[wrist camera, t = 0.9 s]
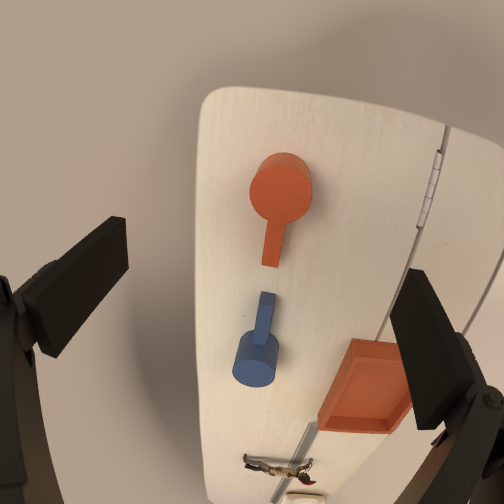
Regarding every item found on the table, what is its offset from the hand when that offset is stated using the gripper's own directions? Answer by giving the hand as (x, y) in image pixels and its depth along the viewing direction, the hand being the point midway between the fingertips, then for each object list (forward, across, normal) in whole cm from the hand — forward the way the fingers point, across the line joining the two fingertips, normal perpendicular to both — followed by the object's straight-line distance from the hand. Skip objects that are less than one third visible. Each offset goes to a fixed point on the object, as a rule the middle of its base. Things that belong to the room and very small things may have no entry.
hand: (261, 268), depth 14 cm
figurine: (+17, +9, -52) cm, 56 cm away
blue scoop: (+17, +1, -18) cm, 25 cm away
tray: (+17, +18, -26) cm, 35 cm away
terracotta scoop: (+17, 0, -3) cm, 17 cm away
